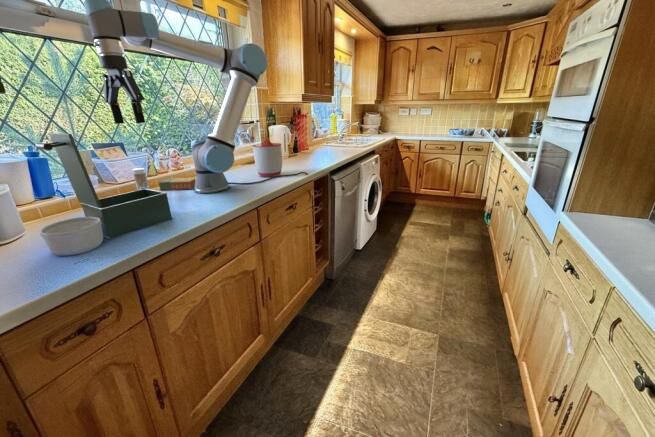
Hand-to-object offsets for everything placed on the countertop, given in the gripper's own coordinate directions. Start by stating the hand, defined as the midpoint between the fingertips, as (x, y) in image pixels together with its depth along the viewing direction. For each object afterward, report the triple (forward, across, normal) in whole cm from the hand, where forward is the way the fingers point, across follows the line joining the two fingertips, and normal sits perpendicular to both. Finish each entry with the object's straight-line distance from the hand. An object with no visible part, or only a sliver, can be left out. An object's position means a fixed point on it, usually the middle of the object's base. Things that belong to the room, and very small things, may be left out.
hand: (130, 123), depth 107 cm
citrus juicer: (+33, +3, +66) cm, 74 cm away
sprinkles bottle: (+32, -14, +6) cm, 35 cm away
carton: (+32, -19, +26) cm, 46 cm away
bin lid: (+11, +12, -24) cm, 29 cm away
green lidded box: (+32, +12, -14) cm, 37 cm away
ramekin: (+31, +17, -32) cm, 48 cm away
